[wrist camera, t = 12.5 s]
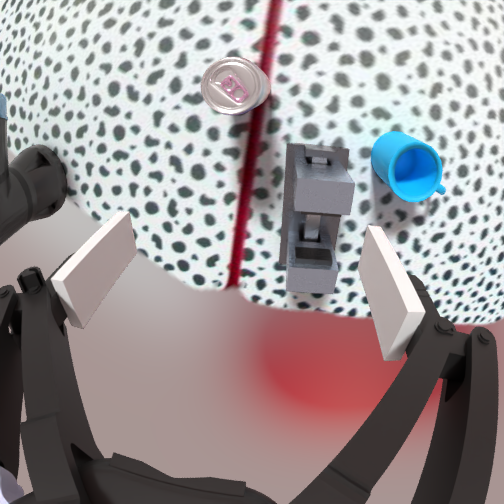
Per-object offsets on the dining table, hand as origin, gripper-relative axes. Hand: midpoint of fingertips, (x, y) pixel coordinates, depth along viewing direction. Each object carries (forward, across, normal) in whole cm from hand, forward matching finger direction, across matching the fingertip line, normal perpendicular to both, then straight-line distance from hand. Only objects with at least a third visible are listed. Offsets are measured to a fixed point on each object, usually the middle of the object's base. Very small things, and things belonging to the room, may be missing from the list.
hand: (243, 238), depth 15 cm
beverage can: (+29, -3, +8) cm, 30 cm away
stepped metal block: (+28, +7, -16) cm, 33 cm away
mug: (+29, +21, -1) cm, 36 cm away
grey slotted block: (+29, +7, -10) cm, 31 cm away
